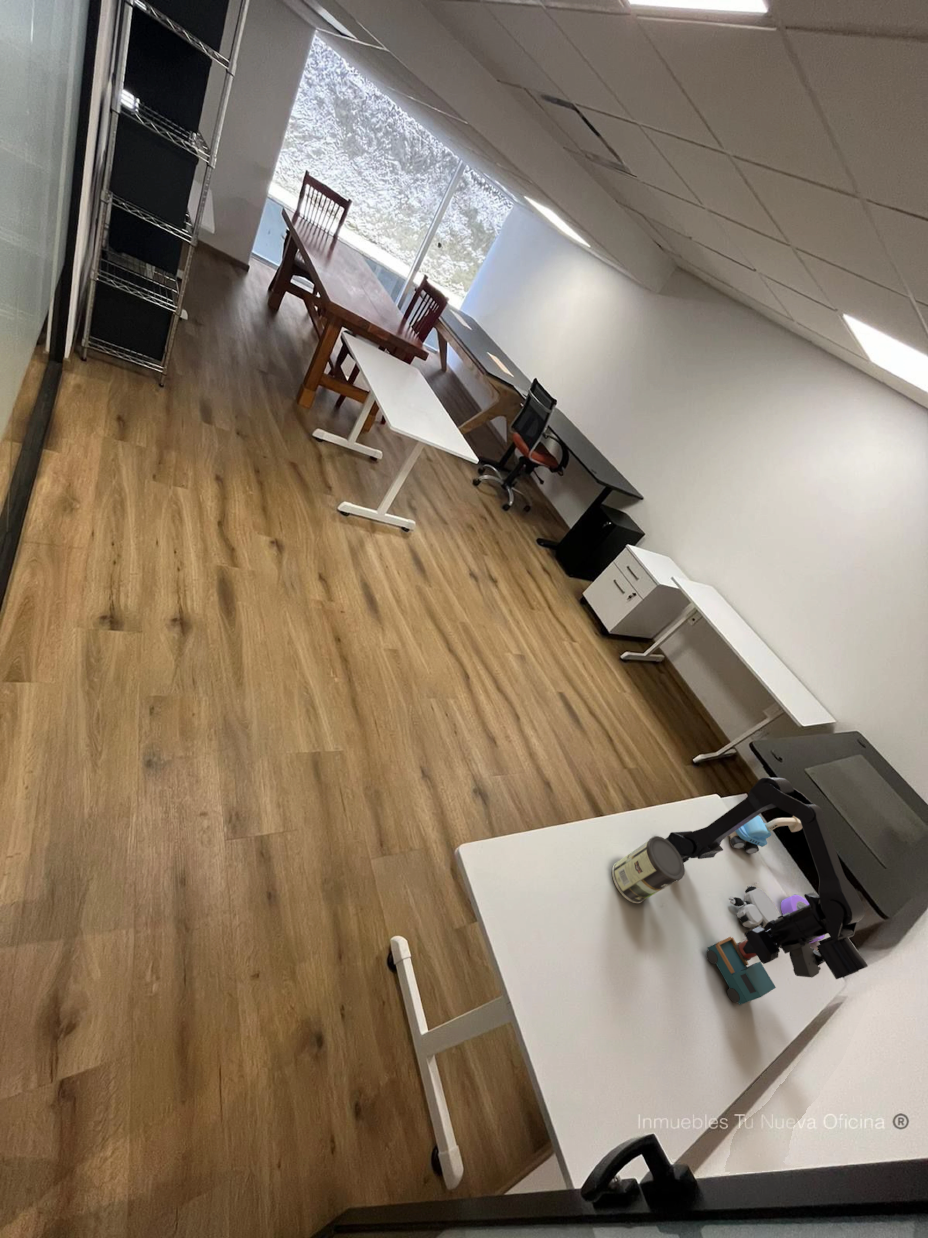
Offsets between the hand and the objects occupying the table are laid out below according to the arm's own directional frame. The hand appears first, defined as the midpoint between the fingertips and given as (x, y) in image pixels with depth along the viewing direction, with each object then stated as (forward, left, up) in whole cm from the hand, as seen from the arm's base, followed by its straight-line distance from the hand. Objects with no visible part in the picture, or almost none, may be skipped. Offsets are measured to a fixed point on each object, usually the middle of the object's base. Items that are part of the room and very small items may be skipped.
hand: (748, 949), depth 124 cm
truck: (+2, -2, -9) cm, 9 cm away
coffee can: (-27, +4, -9) cm, 29 cm away
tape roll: (+30, +30, -9) cm, 43 cm away
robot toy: (+12, +20, -9) cm, 25 cm away
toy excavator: (+12, +46, -9) cm, 49 cm away
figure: (0, 0, -2) cm, 2 cm away
